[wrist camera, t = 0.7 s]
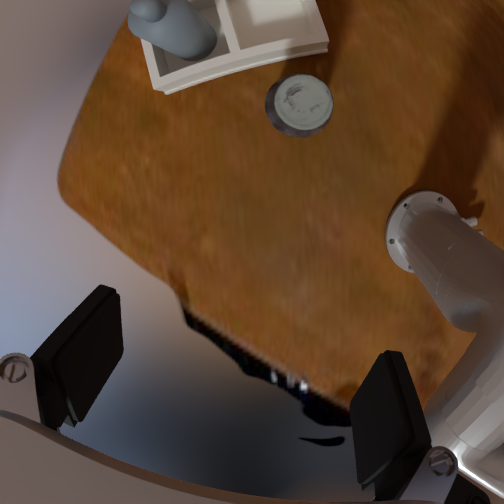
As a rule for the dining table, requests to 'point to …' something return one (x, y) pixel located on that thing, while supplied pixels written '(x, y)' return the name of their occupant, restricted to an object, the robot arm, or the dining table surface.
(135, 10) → the condiment caddy
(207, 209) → the dining table surface
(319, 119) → the sauce bottle
